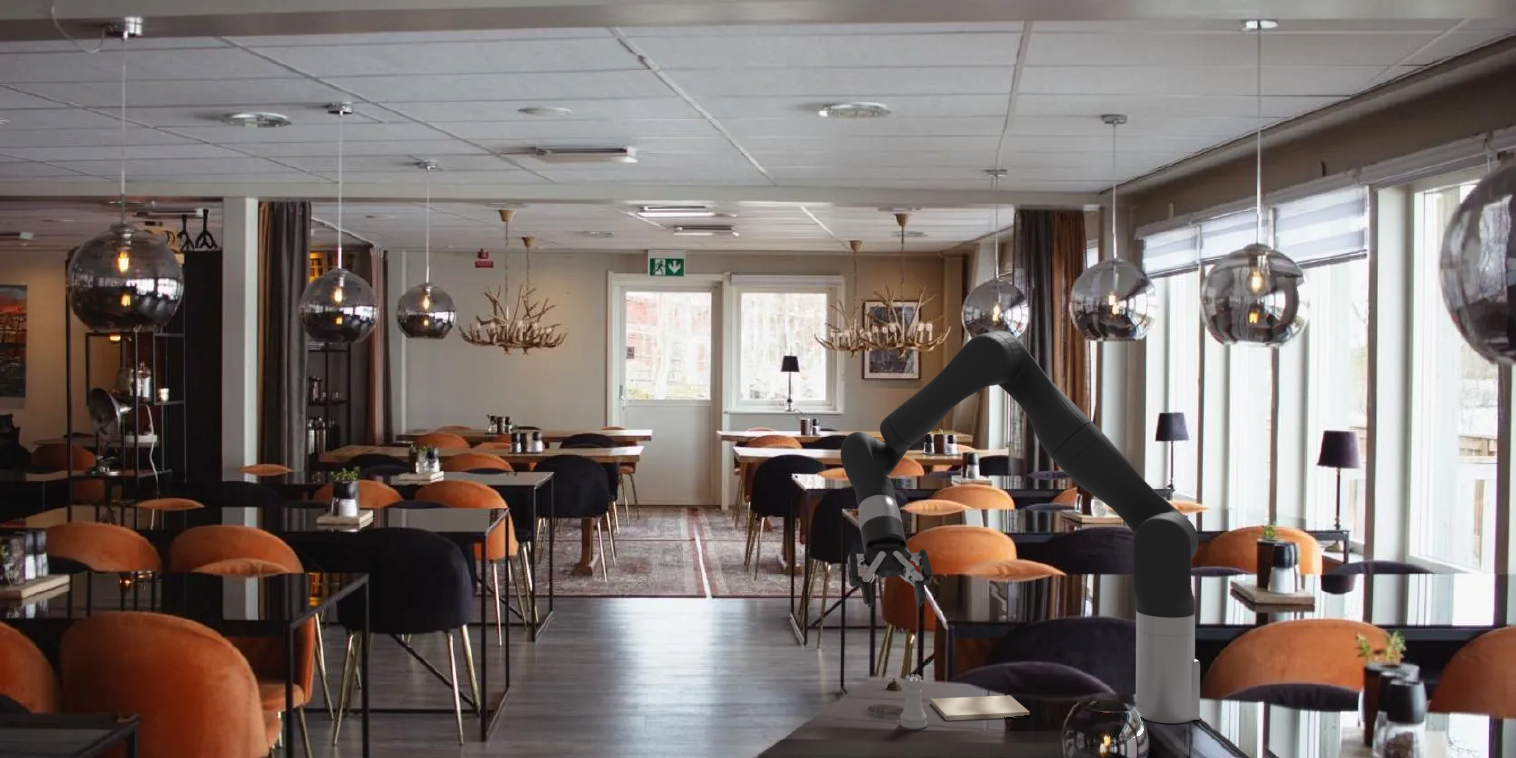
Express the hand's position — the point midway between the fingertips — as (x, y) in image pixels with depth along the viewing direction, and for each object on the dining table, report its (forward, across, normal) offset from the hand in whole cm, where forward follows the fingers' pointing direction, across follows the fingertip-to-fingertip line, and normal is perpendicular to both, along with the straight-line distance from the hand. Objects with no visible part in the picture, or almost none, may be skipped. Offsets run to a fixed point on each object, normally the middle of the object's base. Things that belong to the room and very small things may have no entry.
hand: (895, 604), depth 220 cm
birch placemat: (+15, +13, +9) cm, 22 cm away
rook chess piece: (+21, 0, +4) cm, 21 cm away
